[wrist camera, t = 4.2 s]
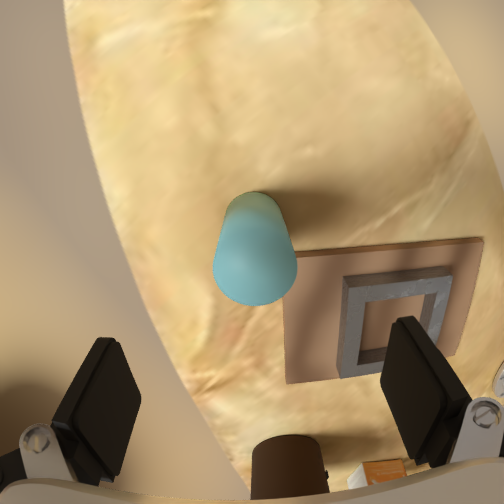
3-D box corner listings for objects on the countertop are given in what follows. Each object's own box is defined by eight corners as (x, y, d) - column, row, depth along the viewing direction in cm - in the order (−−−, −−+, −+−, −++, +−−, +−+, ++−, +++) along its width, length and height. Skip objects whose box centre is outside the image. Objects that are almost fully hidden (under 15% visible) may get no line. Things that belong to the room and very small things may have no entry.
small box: (401, 457, 41) (422, 518, 29) (384, 475, 43) (400, 532, 31) (361, 461, 40) (377, 529, 28) (345, 479, 43) (357, 541, 31)
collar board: (477, 237, 26) (495, 249, 23) (450, 348, 31) (462, 365, 28) (280, 253, 26) (284, 270, 24) (285, 376, 32) (287, 398, 29)
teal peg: (280, 189, 25) (296, 226, 16) (283, 244, 26) (298, 302, 18) (221, 194, 25) (207, 233, 16) (228, 248, 26) (218, 308, 18)
